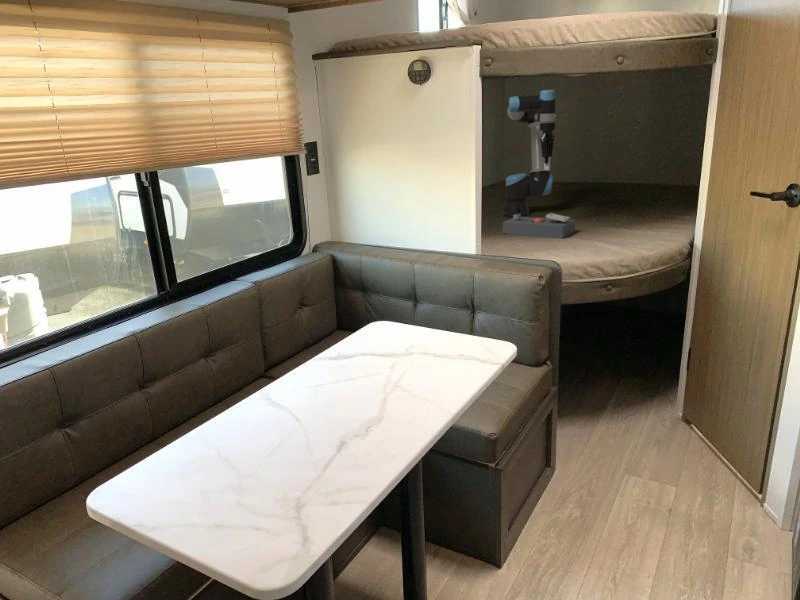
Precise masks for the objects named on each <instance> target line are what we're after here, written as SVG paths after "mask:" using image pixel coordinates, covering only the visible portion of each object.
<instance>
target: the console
mask: <svg viewBox="0 0 800 600" xmlns="http://www.w3.org/2000/svg"><path fill="white" fill-rule="evenodd" d="M534 218H535V217H534V216H533V217H530V216H528V217H527V216H520V219H518V220H513V217H512V218H509V219H507V220H504V221H503V222H502V234H503V233H507V234H506V235H510V234H515V235H514V236H522V235H523V237H526V236H527V237H534V238H535V237H539V238H551V239H565V238H566V237H568V236H570V235H572V234H573V233H575V232H576V219H569V220H568V221H566V222H563V221H559V220H554V219H550V218H546V217H542V218H543V222H542V223H538V222H534Z"/></svg>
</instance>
